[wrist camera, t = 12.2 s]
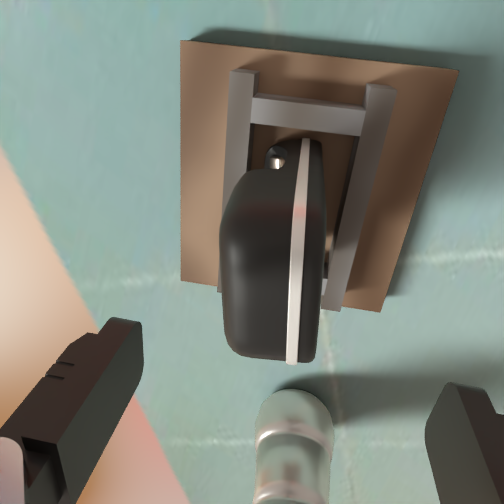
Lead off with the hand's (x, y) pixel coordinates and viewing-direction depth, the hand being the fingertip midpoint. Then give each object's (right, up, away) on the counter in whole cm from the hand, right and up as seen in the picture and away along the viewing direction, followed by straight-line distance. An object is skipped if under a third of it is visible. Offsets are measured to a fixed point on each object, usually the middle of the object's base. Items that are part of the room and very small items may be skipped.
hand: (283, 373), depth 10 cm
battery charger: (+1, +7, +13) cm, 15 cm away
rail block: (+2, +7, +14) cm, 16 cm away
